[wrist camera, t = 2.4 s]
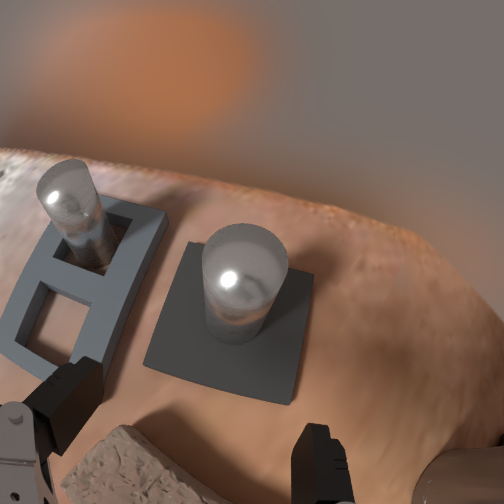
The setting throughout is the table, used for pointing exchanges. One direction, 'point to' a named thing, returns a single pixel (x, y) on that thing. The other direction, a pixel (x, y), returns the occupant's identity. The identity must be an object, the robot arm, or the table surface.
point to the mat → (223, 355)
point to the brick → (133, 475)
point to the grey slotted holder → (83, 288)
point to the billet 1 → (78, 212)
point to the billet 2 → (241, 280)
